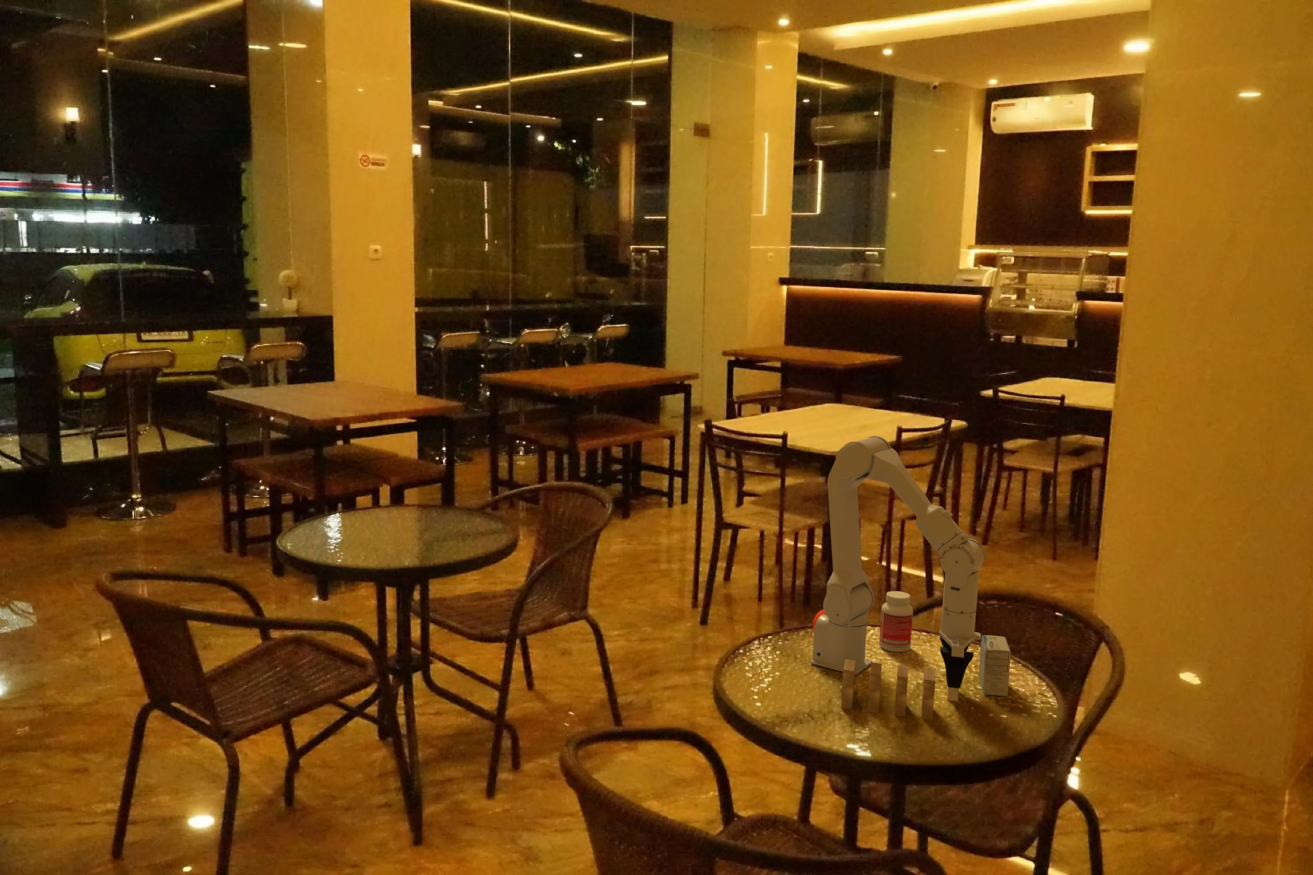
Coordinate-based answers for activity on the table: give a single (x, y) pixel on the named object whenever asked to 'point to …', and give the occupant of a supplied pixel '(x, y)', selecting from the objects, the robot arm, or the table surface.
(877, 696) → the domino
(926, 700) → the domino
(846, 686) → the domino
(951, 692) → the end domino
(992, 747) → the table surface
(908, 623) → the pill bottle
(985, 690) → the medicine box
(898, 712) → the domino
